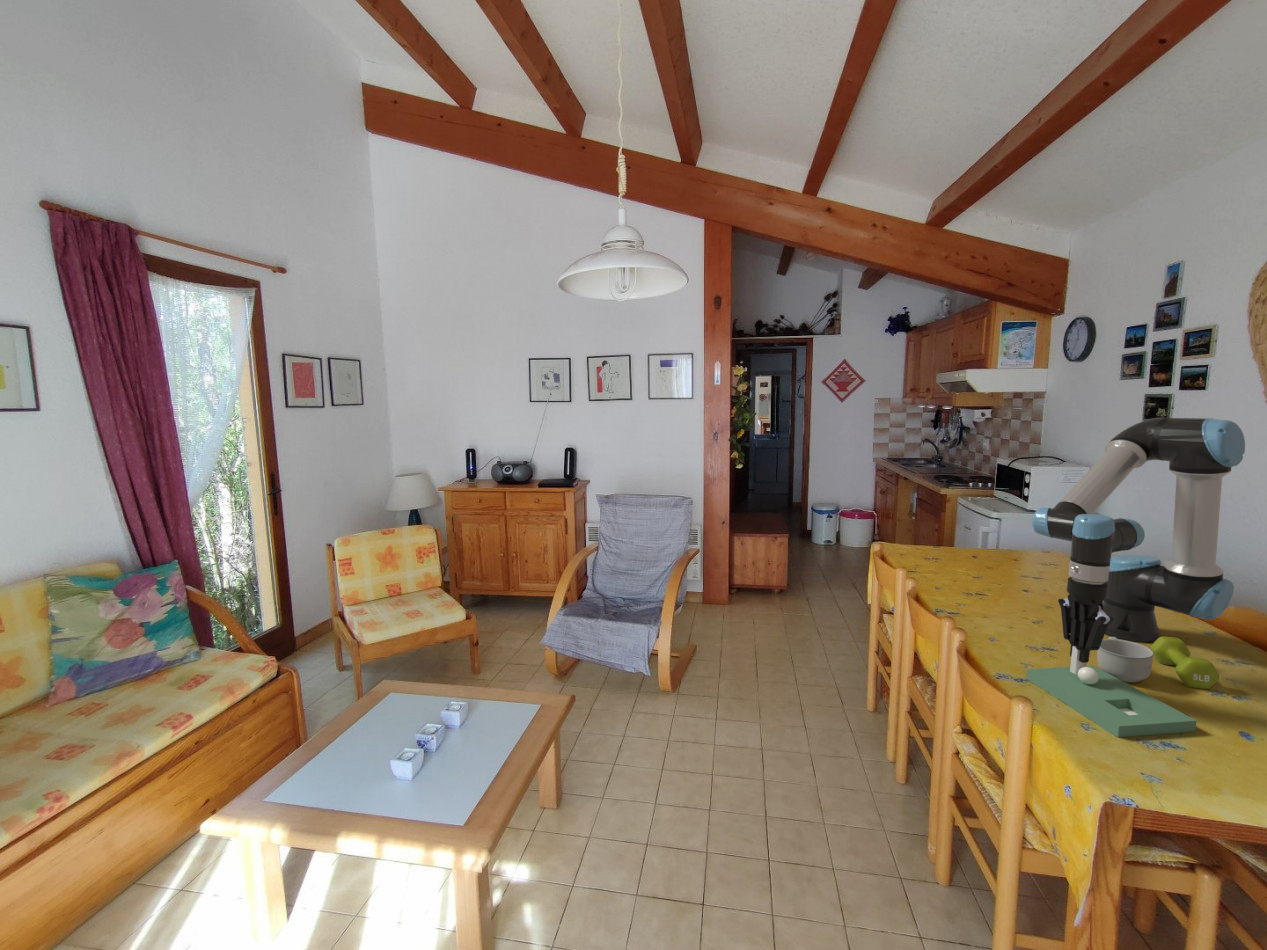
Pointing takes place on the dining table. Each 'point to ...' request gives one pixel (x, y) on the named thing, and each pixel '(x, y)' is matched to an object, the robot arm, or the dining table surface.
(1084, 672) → the ball
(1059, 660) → the dining table surface
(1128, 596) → the robot arm
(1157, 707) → the putting mat
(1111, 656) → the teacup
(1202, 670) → the dumbbell
